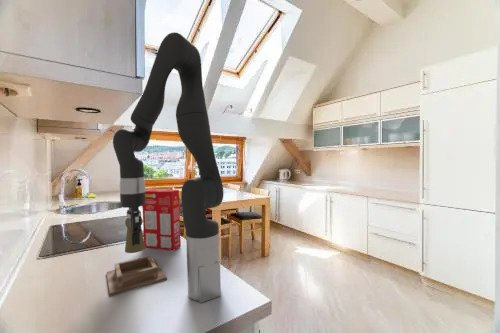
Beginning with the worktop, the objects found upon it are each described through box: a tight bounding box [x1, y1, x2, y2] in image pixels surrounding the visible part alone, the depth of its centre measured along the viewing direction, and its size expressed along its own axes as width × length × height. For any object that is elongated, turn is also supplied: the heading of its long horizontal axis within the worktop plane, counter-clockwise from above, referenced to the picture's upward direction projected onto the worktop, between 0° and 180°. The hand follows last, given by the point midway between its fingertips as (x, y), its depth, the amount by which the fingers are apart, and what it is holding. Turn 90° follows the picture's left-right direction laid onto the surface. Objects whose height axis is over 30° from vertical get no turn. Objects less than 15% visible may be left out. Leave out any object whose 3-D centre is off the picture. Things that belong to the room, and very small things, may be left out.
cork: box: [124, 217, 146, 254], centre depth 81 cm, size 6×6×11 cm
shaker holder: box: [106, 255, 168, 297], centre depth 81 cm, size 16×16×4 cm
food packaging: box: [142, 189, 182, 251], centre depth 107 cm, size 15×5×25 cm, turn 76°
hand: (134, 242), depth 81 cm, fingers closed on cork, 4 cm apart
